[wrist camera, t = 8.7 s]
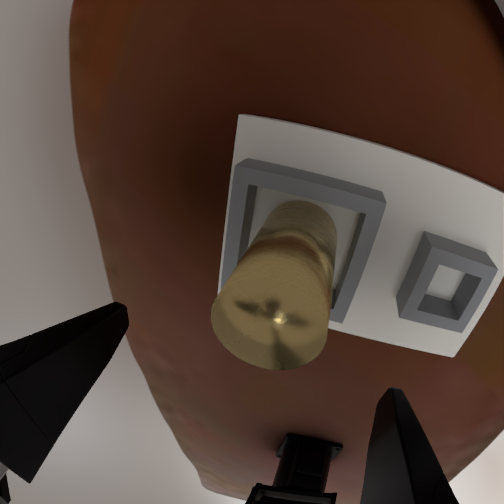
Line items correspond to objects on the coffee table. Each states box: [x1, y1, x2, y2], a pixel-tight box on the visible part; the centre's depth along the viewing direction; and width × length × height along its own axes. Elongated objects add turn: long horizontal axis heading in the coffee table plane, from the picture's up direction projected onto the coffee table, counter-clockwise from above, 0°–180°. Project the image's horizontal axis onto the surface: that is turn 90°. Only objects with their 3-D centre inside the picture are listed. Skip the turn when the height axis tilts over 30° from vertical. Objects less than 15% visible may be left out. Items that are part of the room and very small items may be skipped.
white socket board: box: [218, 114, 504, 357], centre depth 16 cm, size 12×18×3 cm, turn 82°
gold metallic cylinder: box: [211, 200, 337, 370], centre depth 14 cm, size 4×4×8 cm
